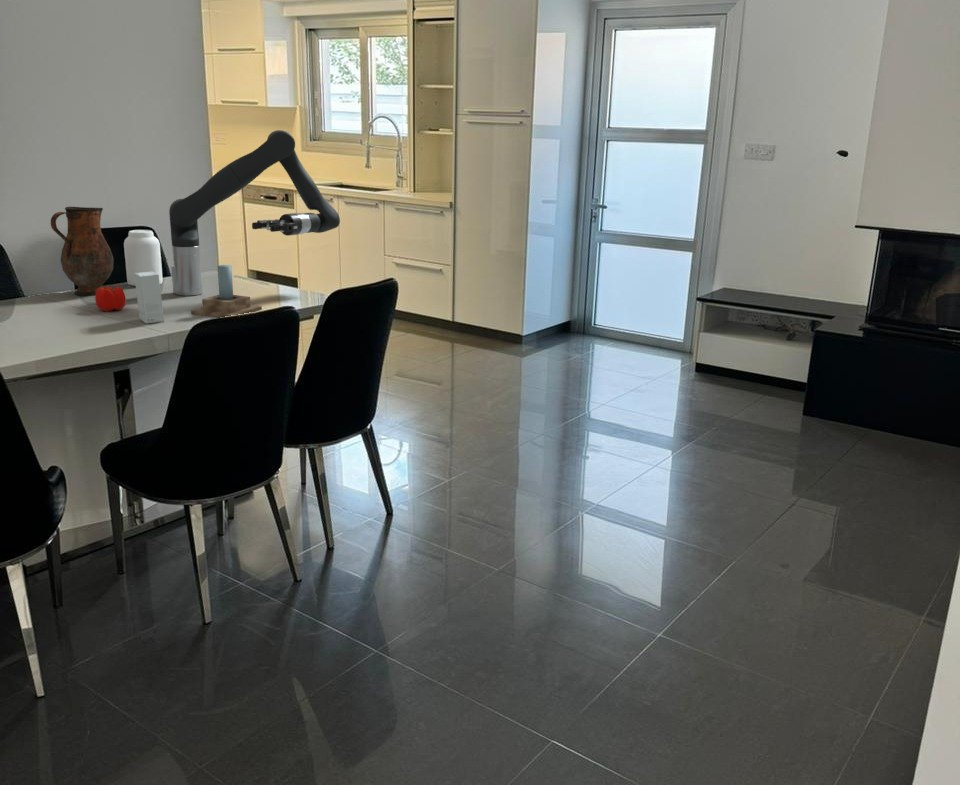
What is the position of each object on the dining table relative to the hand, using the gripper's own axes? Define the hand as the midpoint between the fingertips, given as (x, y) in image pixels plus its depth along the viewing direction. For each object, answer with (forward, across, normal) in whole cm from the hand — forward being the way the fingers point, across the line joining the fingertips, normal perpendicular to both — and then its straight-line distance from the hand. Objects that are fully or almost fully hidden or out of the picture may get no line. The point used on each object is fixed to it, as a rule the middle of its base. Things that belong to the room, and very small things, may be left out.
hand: (261, 227), depth 291 cm
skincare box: (+42, -6, +27) cm, 50 cm away
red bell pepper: (+40, -28, +27) cm, 56 cm away
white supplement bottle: (+4, -58, +27) cm, 64 cm away
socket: (+19, +2, +26) cm, 32 cm away
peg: (+19, +2, +25) cm, 31 cm away
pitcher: (+30, -57, +27) cm, 70 cm away
